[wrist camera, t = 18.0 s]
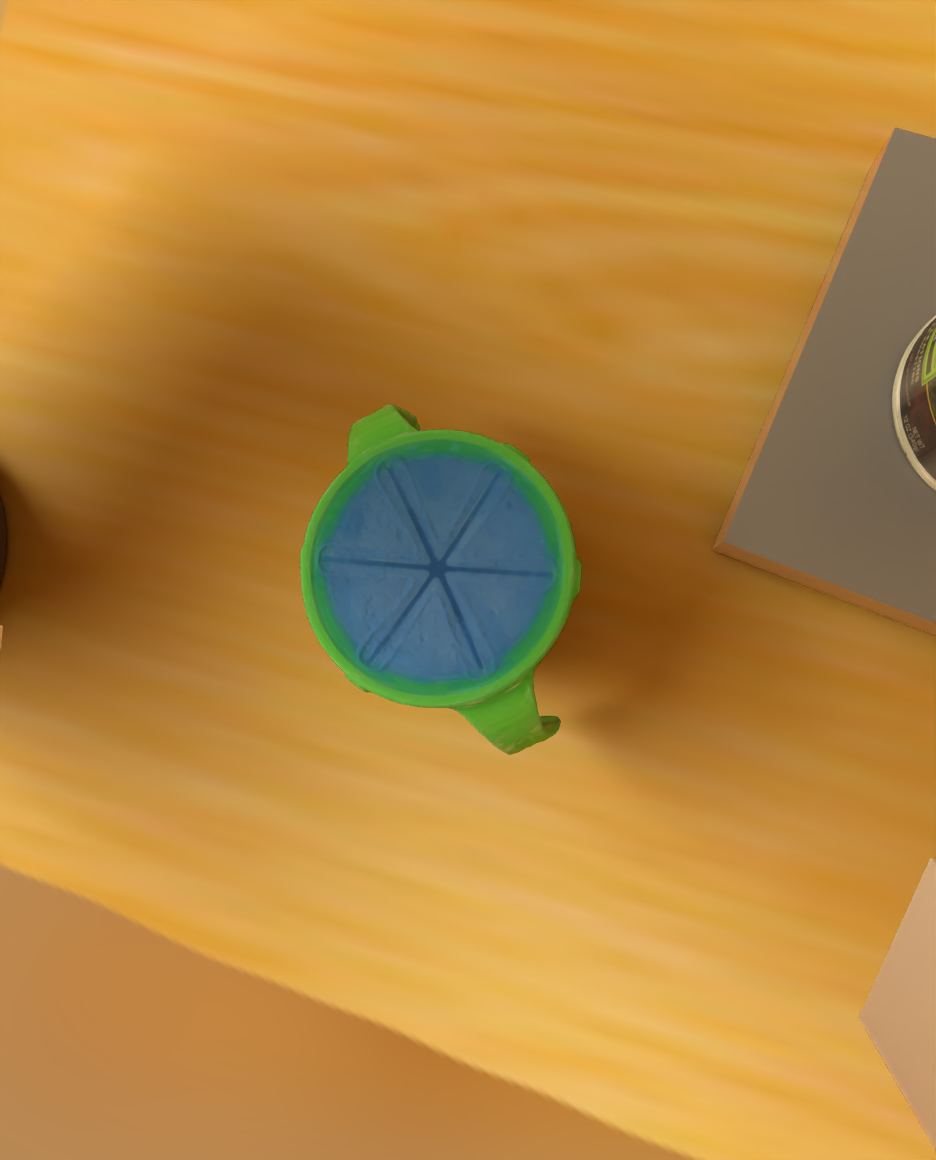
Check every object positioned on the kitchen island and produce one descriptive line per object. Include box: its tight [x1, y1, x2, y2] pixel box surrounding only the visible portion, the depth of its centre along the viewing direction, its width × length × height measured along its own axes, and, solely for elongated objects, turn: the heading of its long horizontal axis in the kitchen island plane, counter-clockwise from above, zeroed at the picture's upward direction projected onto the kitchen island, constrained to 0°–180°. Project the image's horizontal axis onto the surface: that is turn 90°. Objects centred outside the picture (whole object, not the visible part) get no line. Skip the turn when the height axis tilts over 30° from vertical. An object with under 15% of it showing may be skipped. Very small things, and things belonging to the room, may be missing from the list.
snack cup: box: [300, 404, 582, 755], centre depth 33 cm, size 16×10×10 cm
